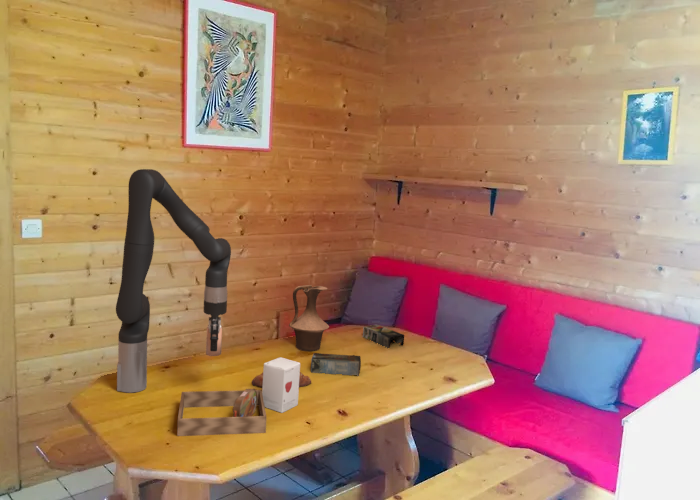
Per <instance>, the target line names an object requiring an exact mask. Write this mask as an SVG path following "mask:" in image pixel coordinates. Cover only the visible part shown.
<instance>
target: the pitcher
mask: <svg viewBox="0 0 700 500" xmlns="http://www.w3.org/2000/svg"><path fill="white" fill-rule="evenodd" d="M301 290H302V291H303V293H304V294H305V295H306V305H305V306H306V307H305V309H304V311H303V312H302V313H301V314H300V315H299V305H298V300H297V294H298V292H299V291H301ZM328 290H329V288H328V287H327V286H322V285H315V286H313V285H312V284H307V285H299V286H296V287H295V288H294V289H293V291H292V300H293V301H292V302H293V305H294V316H293V319H292V321H290V322H289V325H288V326H289V327H290V328H292V329H293V331H294V333H295V334H294V336H295V348H296V349H297V350H300V351H305V352H316V351H319V350H320V349H321V343H322V340H323V339H322V338H323V334H324V331H326V330H328V329H329V328H330V326H329V324H328V323H327V322H325V321H324V320H323V319H322V318H321V317H320V315H319V313H318V310H317V299H318V296H319V294H320V293H321V292H323V291H328Z"/></svg>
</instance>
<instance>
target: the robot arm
mask: <svg viewBox="0 0 700 500" xmlns="http://www.w3.org/2000/svg"><path fill="white" fill-rule="evenodd" d="M127 191H128V210H127V211H128V212H127V219H126V228H125V229H126V230H125V237H124V244H123V255H122V267H121V268H122V269H121V280H120V287H119V291H118V295H117V298H116V299H117V301H116V304H115V313H116V316H117V318H118V319H119V321H120V322H121V326H120V329H119V331H118V335H117V336H118V339H117V341H118V347H117V348H118V351H117V352H118V353H117V355H118V362H117V364H116V391H117V392H123V393H138V392H142V391H143V390H146V388H147V385H148V384H147V383H148V380H147V378H148V377H147V375H148V369H147V368H148V334H149V333H148V332H149V329H150V319H151V318H150V317H151V313H150V312H151V306H150V300H149V298H148V297H147V296H146V294H144V285H145V281H146V278H147V275H148V273H149V270H150V266H151V264H152V262H153V261H152V260H153V256H154V249H155V233H154V231H155V230H154V227H153V224H152V219H151V209H152V201H153V200H155V201H156V202H157V203H159V204H160V205H161V206H162V207H163V208H164V209H165V210H166V211H167V213H168V214H169V216H170V217H171V219H172V221H173V222H174V223H175V226H177V227H178V229H180V231H181V232H182V233H183V234H185V235H186V237H188V239H190V240H191V241H192V242H193V244H194V246H195V247H196V248H197V250H198V251H199V253H200V254H201V255H202V256H203V258H205V259H206V260H208V261H209V266H208V268H207V269H206V270H205V275H204V276H205V279H204V280H205V282H204V291H203V313H204V314H205V315H207V316H208V315H210V316H208V325H209V333H210V334H211V337H210V340H211V346H210V351H217V341H218V333H219V332H220V324H221V323H222V321H221V320H222V319H221V318H222V317H221V315H225V314H226V313H228V311H227V310H228V308H227V306H228V270H229V266H230V262H231V256H232V249H231V244H230V243H229V241H228V240H227V239H225V238H222V237H218V238H215V236H213V235H212V233H210V226H208V225H207V223H205V222H204V221H203V219H201V218H200V217H199V216H198V215H197V214H196V213H195V212H194V210H192V209H191V208H190V207H189V206H188V205H187V204H186V203H185V202H184V200H183V199H181V197H180V196H179V195H178V194H177V193H176V191H175V190H174V189H173V187H172V186H171V185H170V184H169V182H168V181H167V179H166V178H165V177H164V176H163V175H162V174H161V172H159V171H158V170H155V169H151V168H150V169H148V168H143V169H142V168H139V169H137V170H134V171H133V172H132V173H131V175H130V177H129V179H128V189H127ZM219 316H220V317H219ZM221 325H222V324H221ZM212 334H216V335H217V336H212Z"/></svg>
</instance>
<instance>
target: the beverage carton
mask: <svg viewBox="0 0 700 500" xmlns="http://www.w3.org/2000/svg"><path fill="white" fill-rule="evenodd" d="M361 359H362V358H361V355H355V354H351V355H350V354H349V355H347V354H335V353H334V354H333V353H321V352H313V354H312V357H311V360H310V362H311V365H310V372H311V373H314V374H322V373H325V374H324V375H336V374H342V375H341V376H352V375H357V376H356V377H360V373H361V367H362V362H361V361H362V360H361Z"/></svg>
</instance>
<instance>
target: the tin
mask: <svg viewBox="0 0 700 500" xmlns="http://www.w3.org/2000/svg"><path fill="white" fill-rule="evenodd" d="M256 390H257V389H255V388H246V389H245V391H244V390H243V391H244V392H243V393H242V394H241V395H240V396H239V397H238V398H237V399H236V401H235V403H234V406H232V407H233V408H232V417H250V416H254V414H255V413H256V410H257V406H258V405H257V392H256Z"/></svg>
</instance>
